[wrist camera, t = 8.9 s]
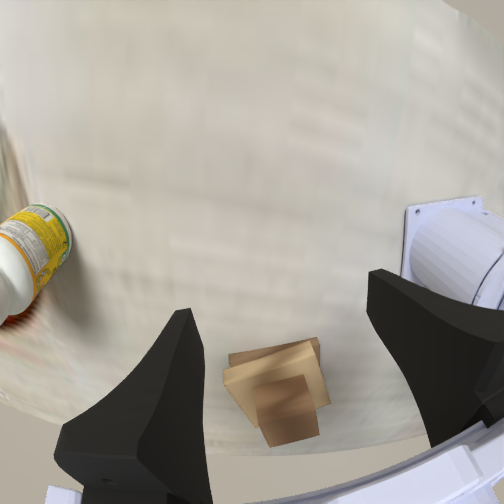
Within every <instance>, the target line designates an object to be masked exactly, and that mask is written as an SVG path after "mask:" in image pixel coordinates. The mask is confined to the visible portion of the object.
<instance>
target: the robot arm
mask: <svg viewBox="0 0 504 504" xmlns="http://www.w3.org/2000/svg"><path fill="white" fill-rule="evenodd" d="M472 202H473V203H472ZM482 207H483V198H482V197H480V196H475V197H468V198H461V199H454V200H447V201H440V202H433V203H426V204H420V205H413V206H409V207H408V208H407V210H406V220H405V238H404V252H403V263H402V273H401V277H400V276H398V275H396V274H393V273H391V272H389V271H386V270H384V269H378V270H374V271H370V272H369V276H368V296H367V310H366V312H367V314H368V316H369V319H370V321H371V323H372V325H373V327H374V329H375V331H376V332H377V334H378V336H379V337H380V339H381V340H382V342H383V343H384V345H385V346H386V348H387V349H388V351H389V352H390V354H391V355H392V357H393V358H394V360H395V361H396V363H397V364H398V366H399V367H400V369H401V371H402V373H403V374H404V376H405V378H406V380H407V383H408V385H409V387H410V389H411V391H412V393H413V396H414V398H415V401H416V403H417V406H418V408H419V411H420V413H421V416H422V419H423V422H424V425H425V428H426V431H427V434H428V438H429V442H430V445H431V449H429V450H427V451H425V452H423V453H421V454H419V455H417V456H415V457H413V458H410V459H408V460H406V461H403V462H401V463H398V464H396V465H394V466H391V467H389V468H386V469H384V470H381V471H378V472H376V473H373V474H370V475H367V476H364V477H361V478H358V479H355V480H352V481H349V482H346V483H343V484H339V485H335V486H332V487H328V488H325V489H321V490H317V491H313V492H308V493H304V494H300V495H295V496H290V497H285V498H280V499H273V500H267V501H261V502H253V503H245V504H500V503H499V501H498V499H497V497H496V495H495V493H494V491H493V489H492V486H494V485H495V484H496V483H498V482H499V481H500V480H502V479H503V478H504V219H503V218H501V217H499V216H498V215H496V214H494V213H492V212H490V211H488V210H486V209H484V208H482ZM417 209H418V211H417V213H416V214H415V212H416V210H417ZM425 286H427V287H428V288H429V289H430V290H431V291H430V290H428V289H426V288H424V287H425ZM204 379H205V360H204V347H203V344H202V341H201V338H200V335H199V332H198V329H197V326H196V323H195V320H194V317H193V314H192V311H191V308H187V309H181V310H176V311H175V312H174V314H173V315H172V317H171V318H170V320H169V321H168V323H167V324H166V326H165V327H164V329H163V331H162V332H161V334H160V335H159V337H158V338H157V340H156V341H155V343H154V344H153V345H152V347H151V348H150V350H149V351H148V352H147V354H146V355H145V356H144V358H143V359H142V360H141V361H140V363H139V364H138V365H137V366H136V367H135V368H134V370H133V371H132V372H131V373H130V374H129V375H128V376H127V377H126V378H125V379H124V380H123V381H122V382H121V383H120V384H119V385H118V386H117V387H116V388H114V389H113V390H112V391H111V392H110V393H109V394H108V395H107V396H105V397H104V398H103V399H102V400H100V401H99V402H98V403H96V404H95V405H94V406H92V407H91V408H89V409H88V410H87V411H85V412H84V413H82V414H80V415H79V416H77V417H75V418H74V419H72V420H70V421H69V422H67V423H65V424H63V426H62V429H61V432H60V435H59V438H58V442H57V445H56V449H55V452H54V459H55V461H56V463H57V464H58V466H59V467H60V468H62V469H63V470H64V471H65V472H66V473H67V474H69V475H70V476H71V477H73V478H74V479H75V480H77V481H78V482H79V483H81V484H82V485H84V489H83V493H81V492H79V491H76V490H72V489H68V488H63V487H59V486H54V485H49V487H48V491H47V496H46V500H45V504H213V500H212V495H211V490H210V484H209V477H208V471H207V463H206V454H205V445H204V433H203V397H204Z"/></svg>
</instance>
